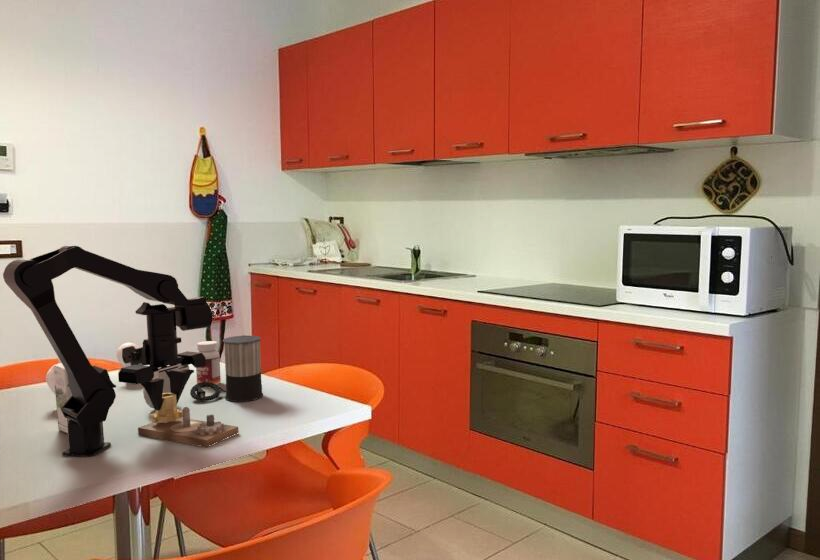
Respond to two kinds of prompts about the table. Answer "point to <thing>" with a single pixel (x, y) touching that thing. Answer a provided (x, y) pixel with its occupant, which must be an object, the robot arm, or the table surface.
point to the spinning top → (51, 378)
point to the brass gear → (167, 409)
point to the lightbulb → (119, 353)
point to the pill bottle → (209, 363)
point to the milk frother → (237, 371)
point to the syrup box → (61, 395)
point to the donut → (165, 388)
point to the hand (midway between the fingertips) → (166, 407)
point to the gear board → (189, 430)
